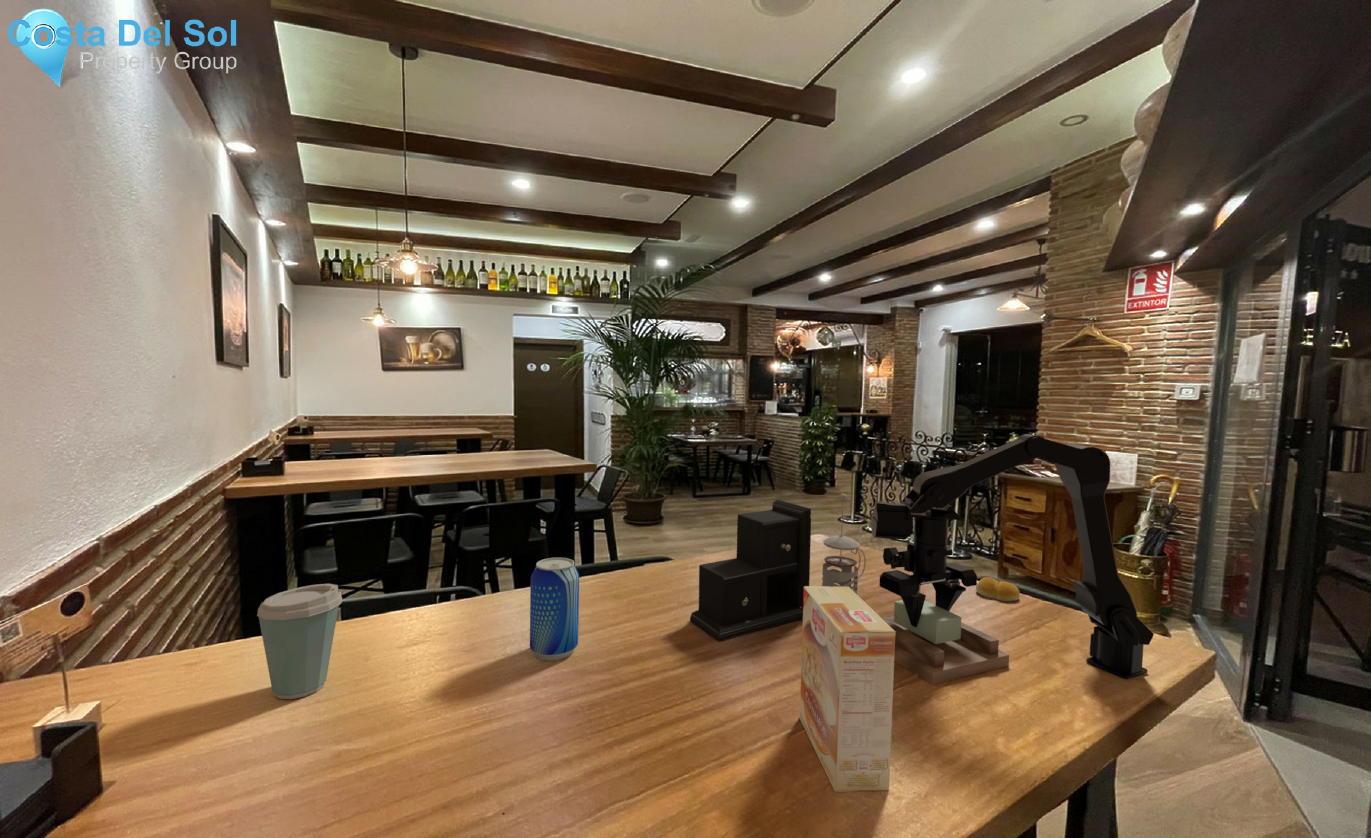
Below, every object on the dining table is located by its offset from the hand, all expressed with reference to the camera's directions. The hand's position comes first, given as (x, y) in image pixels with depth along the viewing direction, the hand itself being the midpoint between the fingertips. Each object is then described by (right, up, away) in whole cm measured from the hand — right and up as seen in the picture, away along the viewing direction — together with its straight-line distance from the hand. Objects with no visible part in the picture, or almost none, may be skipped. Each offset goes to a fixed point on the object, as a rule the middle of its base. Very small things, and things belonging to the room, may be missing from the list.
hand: (926, 623), depth 100 cm
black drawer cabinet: (-32, -4, +12) cm, 34 cm away
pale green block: (0, -1, 0) cm, 1 cm away
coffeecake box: (-25, -6, -29) cm, 39 cm away
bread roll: (+30, -5, +29) cm, 42 cm away
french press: (-9, -4, +22) cm, 25 cm away
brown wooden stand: (0, -5, 0) cm, 5 cm away
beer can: (-69, -4, -4) cm, 69 cm away
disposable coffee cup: (-104, -3, -18) cm, 106 cm away
